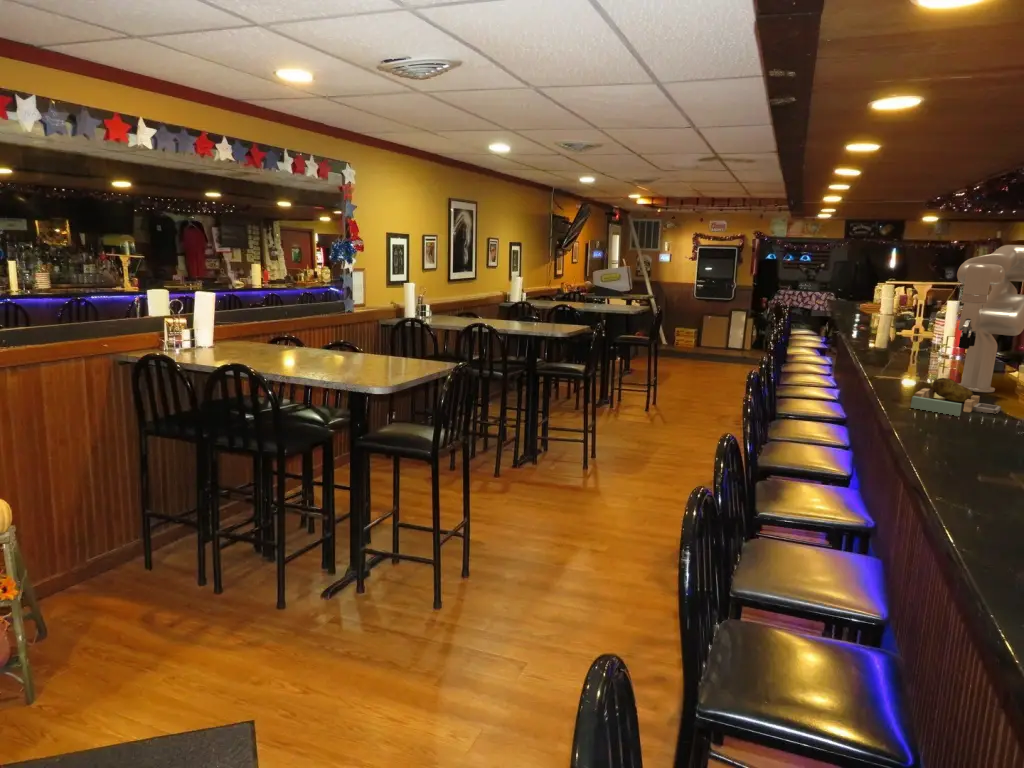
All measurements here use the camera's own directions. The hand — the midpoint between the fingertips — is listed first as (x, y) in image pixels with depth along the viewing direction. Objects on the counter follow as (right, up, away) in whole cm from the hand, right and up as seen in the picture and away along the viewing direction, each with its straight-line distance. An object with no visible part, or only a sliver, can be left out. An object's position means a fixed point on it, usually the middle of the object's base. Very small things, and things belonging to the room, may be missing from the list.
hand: (966, 346), depth 251 cm
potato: (-8, -20, -4) cm, 22 cm away
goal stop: (-25, -23, -22) cm, 41 cm away
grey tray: (-5, -23, -18) cm, 30 cm away
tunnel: (-14, -21, -11) cm, 27 cm away
